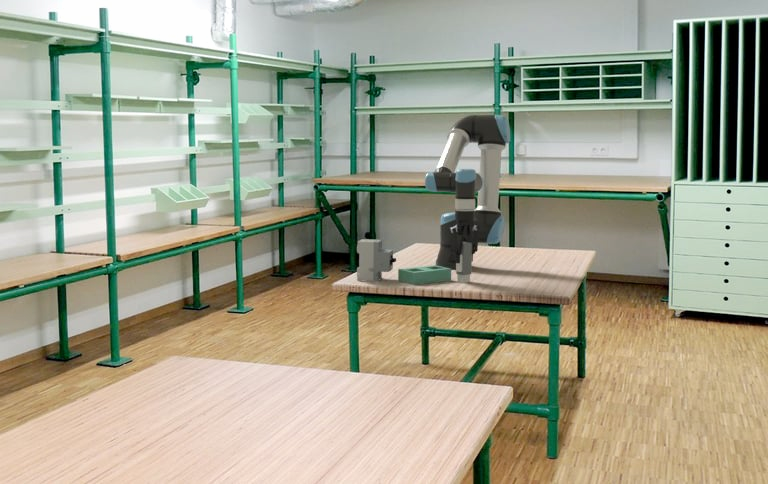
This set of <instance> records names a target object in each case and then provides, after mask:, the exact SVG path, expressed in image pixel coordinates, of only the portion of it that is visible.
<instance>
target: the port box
mask: <svg viewBox="0 0 768 484" xmlns="http://www.w3.org/2000/svg"><path fill="white" fill-rule="evenodd" d="M397 274H398V275H397V279H398V281H399V282H402V283H405V282H406V284H409V285H415V286H416V285H424V284H432V283H439V282H440V283H441V282H448V281H452V269H450V268H446V267H441V266H436V264H435V265H427V266H425V265H424V266H417V267H406V268H398V271H397Z"/></svg>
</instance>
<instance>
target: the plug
mask: <svg viewBox="0 0 768 484" xmlns="http://www.w3.org/2000/svg"><path fill="white" fill-rule="evenodd" d="M460 255H462V272H458V271H456V270H455V271H456V274H457V280H456V282H458V283H470V282H471V275H472V271H471V260H472V243H469V242H463V243H462V250H461V254H460Z"/></svg>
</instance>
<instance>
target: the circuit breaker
mask: <svg viewBox="0 0 768 484" xmlns="http://www.w3.org/2000/svg"><path fill="white" fill-rule="evenodd" d="M356 253H358V254H359V256H358V257H359V259H358V265H359V266H358V267H357V268H356V281H361V280H365V281H367V282H378V281H380V280H381V279H382V276H383V272H384V273H385V272H386V273H389V272H391V271H392V270H393V269H394V263H395V262H397V258H394V250H393V249H383V239H367V238H364V239H360V240H358V241H357V246H356Z"/></svg>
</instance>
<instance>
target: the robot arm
mask: <svg viewBox="0 0 768 484" xmlns="http://www.w3.org/2000/svg"><path fill="white" fill-rule="evenodd" d="M446 139H447V141H446V144H445V147H444V149H443V151H442V153H441V156H440V159H439V160H438V163H437V165H436V168H435V169H434V171H430V172H426V175H425V176H424V185H425V186H424V187H425V190H427V191H429V192H436V193H437V192H438V193H439V192H440V193H441V192H443V193H444V192H445V193H455V195H454V196H455V198H454V199H455V201H454V202H455V203H454V209H456V210H455V211H453V212H447V213H443V214H442V215H441V217H440V224H439V229H440V232H439V233H440V235H439V236H440V238H439V239H440V240H439V241H440V242H439V244H440V245H439V251H438V253H437V257H436V260H435V265H436V266H441V267H446V268H450V269H451V270H452V269H453V270H455V271H458V272H462V255H460V254H461V250H462V243H463V242H469V243H472V260H471V272H472V270H473V269H472V268H473V265H472V264H473V263H472V262H474V255H475V254H476V252H478V247H479V244H487V245H490V244H494V245H495V244H498V243H500V242H501V240H502V238H503V236H504V231H505V226H506V223H505V222H506V219H505V217H504V216H503V215H502V211H501V210H500V208H499V198H500V197H499V196H500V183H501V182H500V181H501V180H500V179H501V167H502V165H501V164H502V152H503V151H504V150H505V149H506V147H507V146H506V144H509V143H510V142H511V127H510V122H509V119H508V117H507V116H506V115H502V114H469V115H466V116H464V117H462V118H460V119H459V120H458V121H455V123H454V124H453V125H452V126H451V128H450V129H449V131H448V133H447V137H446ZM471 143H473V144H475V143H476V144H477V147H478V149H479V150H480V161H479V173H478V172H477V171H476V170H475V169H473V168H458V169H457V167H458V164H459V162H460V160H461V157H462V154H463V152H464V150H465V148H466V147H467V146H468V145H469V144H471ZM456 169H457V170H456ZM476 172H477V173H476ZM476 192H477V193H478V194H477V207H476Z"/></svg>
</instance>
